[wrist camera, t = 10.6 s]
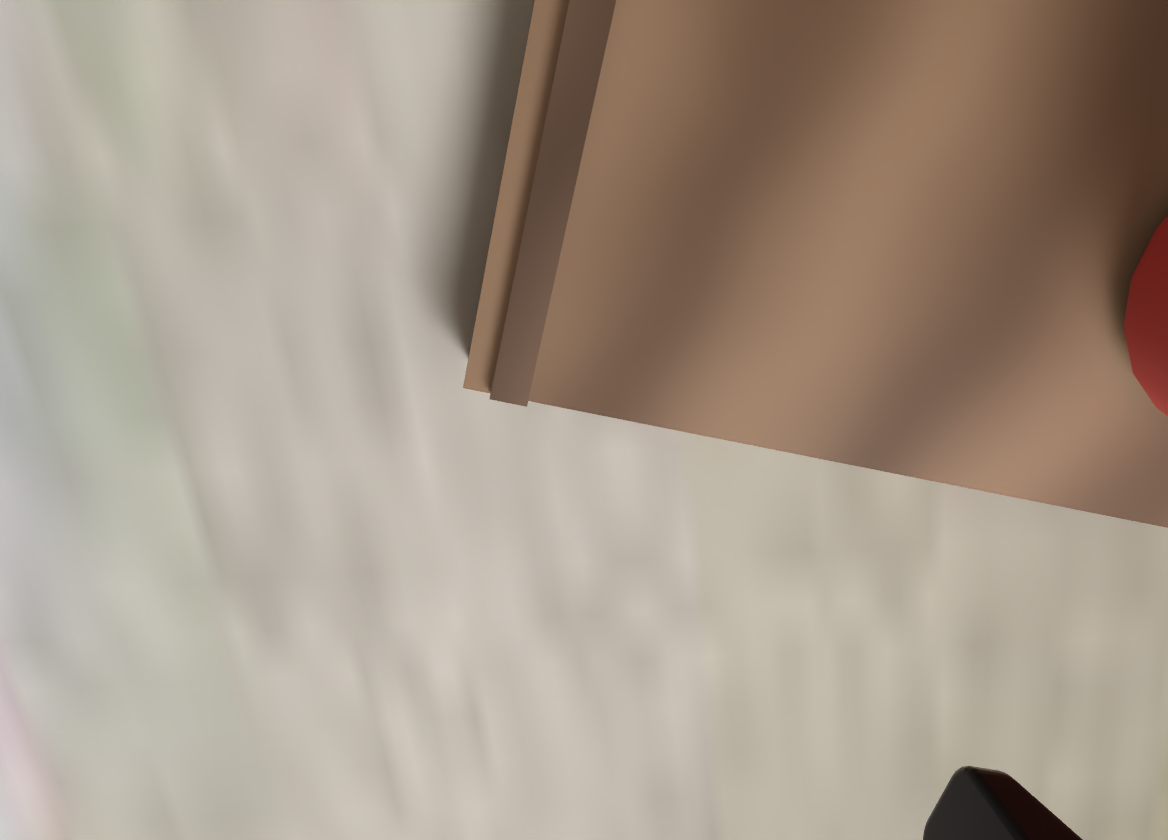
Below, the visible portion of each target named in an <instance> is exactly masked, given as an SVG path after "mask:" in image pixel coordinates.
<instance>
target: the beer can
mask: <svg viewBox="0 0 1168 840" xmlns="http://www.w3.org/2000/svg"><path fill="white" fill-rule="evenodd" d="M1124 331H1125V336H1126V341H1127V346H1128V352H1129V357H1130V362H1131V367H1132V372H1133V374H1134V376H1135V377H1136V379H1137V380H1138V382H1139V383H1140V385H1141V386H1142V388H1143V389H1144V390H1145V392H1146V393H1147V395H1148V396H1149V398H1150V399H1151V401H1152V402H1153V404H1154V405H1155V407H1156V408H1157V409H1159V410H1160V411H1162V412H1163V413H1164V414H1166V415H1167V416H1168V216H1167V217H1166V218H1165V219H1164V220H1163V221H1162V223H1161V224H1160V225H1159V226H1158V227H1157V228H1156V230H1155V232H1154V234H1153V236H1152V238H1151V240H1150V242H1149V244H1148V246H1147V248H1146V250H1145V252H1144V254H1143V256H1142V258H1141V260H1140V262H1139V264H1138V266H1137V268H1136V270H1135V272H1134V274H1133V276H1132V278H1131V283H1130V289H1129V296H1128V302H1127V308H1126V314H1125V320H1124Z"/></svg>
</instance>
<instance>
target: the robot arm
mask: <svg viewBox="0 0 1168 840" xmlns="http://www.w3.org/2000/svg"><path fill="white" fill-rule="evenodd" d="M923 840H1082V839H1081V838H1080V837H1079V836H1078V835H1077V834H1076V833H1074V832H1073V831H1072V830H1071V829H1070V828H1069V827H1068V826H1066V825H1065V824H1064V823H1063V822H1062V821H1061V820H1060V819H1059V818H1057V817H1056V816H1055V815H1054V814H1053V813H1052V812H1051V811H1049V810H1048V809H1047V808H1046V807H1045V806H1044V805H1043V804H1042V803H1040V802H1039V801H1038V800H1037V799H1036V798H1035V797H1034V796H1032V795H1031V794H1030V793H1029V792H1028V791H1027V790H1026V789H1025V788H1023V787H1022V786H1021V785H1020V784H1019V783H1018V782H1017V781H1015V780H1014V779H1013V778H1012V777H1011V776H1009V775H1008V774H1006V773H1004V772H1001V771H997V770H991V769H985V768H979V767H973V766H965V767H961V768H960V769H958V770H957V771H956V772H955V773H954V774H953V776H952V777H951V779H950V781H949V783H948V785H947V786H946V788H945V790H944V792H943V794H942V795H941V797H940V799H939V801H938V803H937V804H936V806H935V808H934V810H933V811H932V813H931V815H930V817H929V819H928V821H927V823H926V826H925V830H924V836H923Z"/></svg>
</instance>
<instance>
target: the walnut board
mask: <svg viewBox="0 0 1168 840" xmlns="http://www.w3.org/2000/svg"><path fill="white" fill-rule="evenodd" d="M1167 216H1168V0H535V1H534V7H533V12H532V18H531V23H530V28H529V34H528V39H527V45H526V50H525V55H524V61H523V66H522V72H521V77H520V83H519V88H518V93H517V99H516V104H515V110H514V115H513V120H512V126H511V131H510V137H509V142H508V147H507V153H506V158H505V164H504V169H503V175H502V180H501V185H500V191H499V196H498V202H497V207H496V212H495V218H494V223H493V229H492V234H491V240H490V245H489V250H488V256H487V261H486V267H485V272H484V277H483V283H482V288H481V294H480V299H479V305H478V310H477V315H476V321H475V326H474V332H473V337H472V342H471V348H470V353H469V359H468V364H467V369H466V375H465V380H464V386H463V388H466V389H471V390H476V391H481V392H486V393H491V395H490V399H492V400H497V401H502V402H507V403H512V404H517V405H522V406H527V403H528V401H532V402H537V403H542V404H547V405H552V406H557V407H562V408H567V409H572V410H577V411H582V412H587V413H592V414H597V415H602V416H608V417H613V418H618V419H623V420H628V421H633V422H638V423H643V424H648V425H653V426H658V427H663V428H668V429H673V430H678V431H683V432H688V433H693V434H698V435H703V436H708V437H713V438H719V439H724V440H729V441H734V442H739V443H744V444H749V445H754V446H759V447H764V448H769V449H774V450H779V451H784V452H789V453H794V454H799V455H804V456H809V457H814V458H819V459H824V460H829V461H835V462H840V463H845V464H850V465H855V466H860V467H865V468H870V469H875V470H880V471H885V472H890V473H895V474H900V475H905V476H910V477H915V478H920V479H925V480H930V481H935V482H940V483H946V484H951V485H956V486H961V487H966V488H971V489H976V490H981V491H986V492H991V493H996V494H1001V495H1006V496H1011V497H1016V498H1021V499H1026V500H1031V501H1036V502H1041V503H1046V504H1051V505H1056V506H1062V507H1067V508H1072V509H1077V510H1082V511H1087V512H1092V513H1097V514H1102V515H1107V516H1112V517H1117V518H1122V519H1127V520H1132V521H1137V522H1142V523H1147V524H1152V525H1157V526H1162V527H1167V528H1168V416H1167V415H1166V414H1164V413H1163V412H1162V411H1160V410H1159V409H1157V408H1156V407H1155V405H1154V404H1153V402H1152V401H1151V399H1150V398H1149V396H1148V395H1147V393H1146V392H1145V390H1144V389H1143V388H1142V386H1141V385H1140V383H1139V382H1138V380H1137V379H1136V377H1135V376H1134V374H1133V372H1132V367H1131V362H1130V357H1129V352H1128V346H1127V341H1126V336H1125V331H1124V320H1125V314H1126V308H1127V302H1128V296H1129V289H1130V283H1131V278H1132V276H1133V274H1134V272H1135V270H1136V268H1137V266H1138V264H1139V262H1140V260H1141V258H1142V256H1143V254H1144V252H1145V250H1146V248H1147V246H1148V244H1149V242H1150V240H1151V238H1152V236H1153V234H1154V232H1155V230H1156V228H1157V227H1158V226H1159V225H1160V224H1161V223H1162V221H1163V220H1164V219H1165V218H1166V217H1167Z"/></svg>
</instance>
